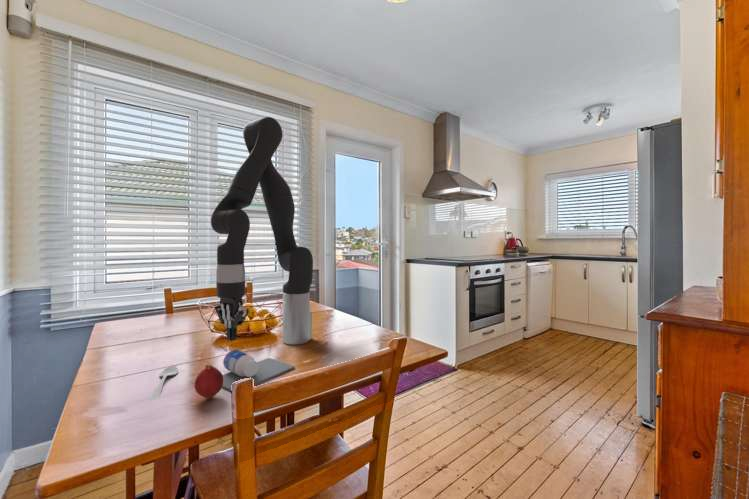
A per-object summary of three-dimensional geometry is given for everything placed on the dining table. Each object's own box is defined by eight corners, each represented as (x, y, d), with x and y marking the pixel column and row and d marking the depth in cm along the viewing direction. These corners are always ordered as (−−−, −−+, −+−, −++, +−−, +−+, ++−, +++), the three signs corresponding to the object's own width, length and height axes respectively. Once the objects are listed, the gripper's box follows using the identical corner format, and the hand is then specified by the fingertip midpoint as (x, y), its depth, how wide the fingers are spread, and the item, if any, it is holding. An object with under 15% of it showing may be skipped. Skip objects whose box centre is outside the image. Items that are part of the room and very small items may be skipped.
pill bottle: (243, 349, 91) (263, 358, 85) (238, 369, 90) (258, 379, 84) (225, 349, 87) (245, 358, 81) (219, 369, 86) (239, 380, 80)
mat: (268, 359, 97) (268, 357, 97) (294, 368, 91) (294, 366, 91) (209, 382, 82) (209, 379, 82) (236, 394, 76) (236, 391, 76)
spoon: (181, 369, 90) (181, 364, 90) (159, 407, 71) (159, 399, 71) (163, 371, 89) (163, 365, 89) (136, 410, 69) (136, 402, 69)
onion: (201, 392, 76) (201, 359, 76) (227, 392, 77) (227, 358, 76) (190, 405, 70) (189, 369, 70) (217, 404, 71) (217, 368, 71)
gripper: (257, 280, 92) (257, 340, 93) (228, 276, 99) (229, 332, 100) (233, 283, 86) (234, 348, 87) (204, 279, 93) (205, 339, 94)
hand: (231, 339), depth 93 cm, fingers closed
